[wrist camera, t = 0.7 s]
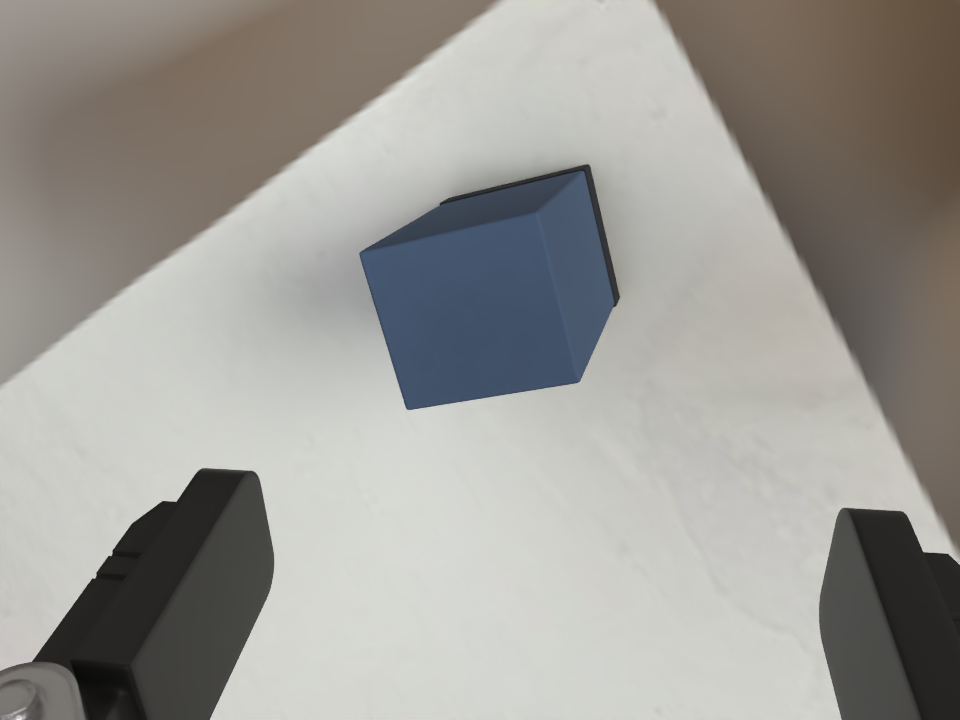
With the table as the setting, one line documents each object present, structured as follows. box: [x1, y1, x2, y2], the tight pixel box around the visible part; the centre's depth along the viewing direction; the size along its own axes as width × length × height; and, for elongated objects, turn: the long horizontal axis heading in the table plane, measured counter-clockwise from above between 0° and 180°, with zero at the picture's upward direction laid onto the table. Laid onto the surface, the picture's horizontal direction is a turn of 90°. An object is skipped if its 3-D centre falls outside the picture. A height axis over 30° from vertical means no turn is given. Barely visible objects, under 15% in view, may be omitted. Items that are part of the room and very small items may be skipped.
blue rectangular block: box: [360, 165, 620, 410], centre depth 26 cm, size 4×5×8 cm
